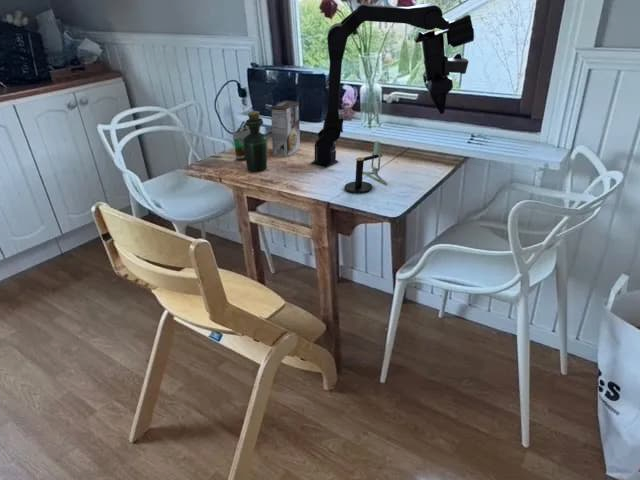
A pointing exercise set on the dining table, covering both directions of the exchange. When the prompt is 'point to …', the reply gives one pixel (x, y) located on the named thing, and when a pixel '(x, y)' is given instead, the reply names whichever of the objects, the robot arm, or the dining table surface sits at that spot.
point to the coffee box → (285, 128)
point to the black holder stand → (360, 177)
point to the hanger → (375, 170)
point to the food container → (240, 142)
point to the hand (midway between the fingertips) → (440, 109)
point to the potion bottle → (255, 144)
